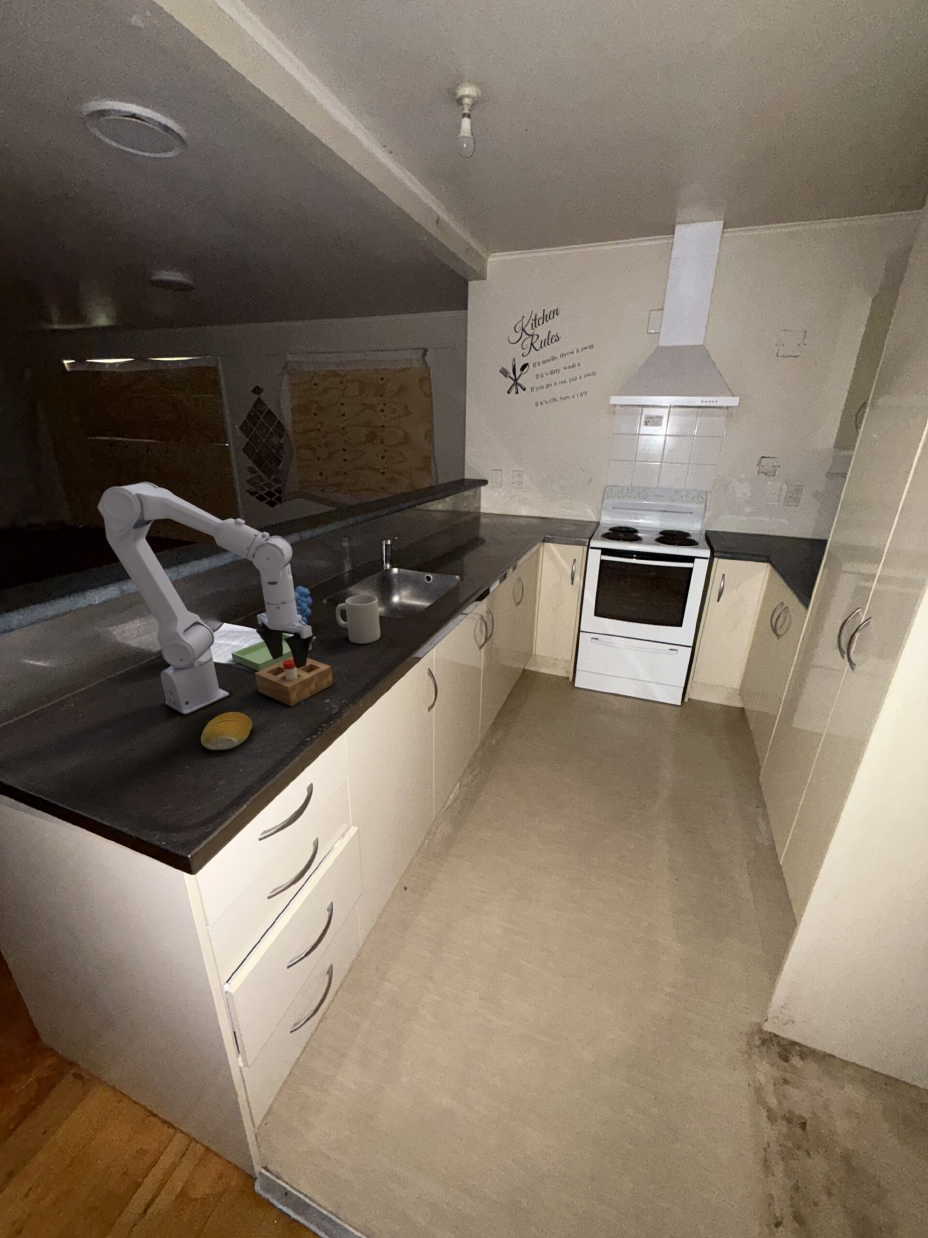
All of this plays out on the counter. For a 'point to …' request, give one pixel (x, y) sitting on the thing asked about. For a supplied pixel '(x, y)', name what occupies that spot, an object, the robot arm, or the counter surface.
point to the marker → (290, 670)
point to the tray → (261, 655)
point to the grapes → (303, 602)
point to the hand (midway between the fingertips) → (289, 661)
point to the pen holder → (294, 681)
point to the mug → (360, 618)
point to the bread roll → (226, 731)
